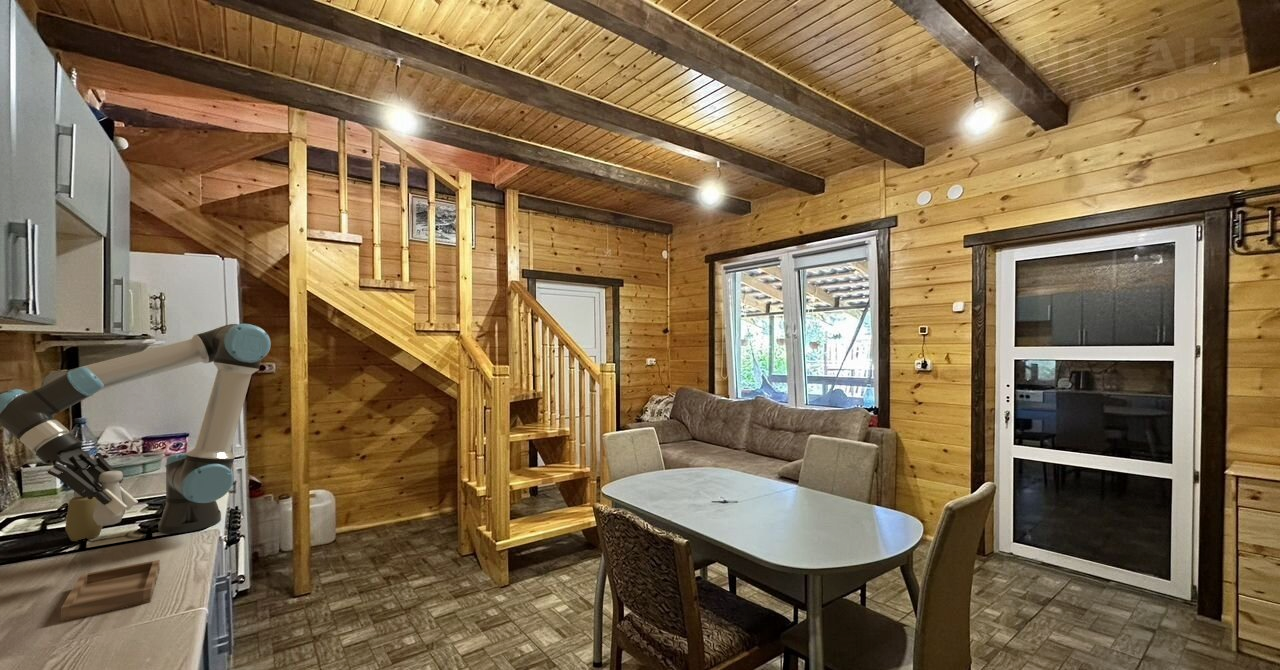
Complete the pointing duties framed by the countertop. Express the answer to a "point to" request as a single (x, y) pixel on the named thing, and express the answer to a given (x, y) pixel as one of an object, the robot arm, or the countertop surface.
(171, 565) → the countertop surface
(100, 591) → the walnut tray
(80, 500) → the squeeze bottle
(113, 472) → the salt shaker
